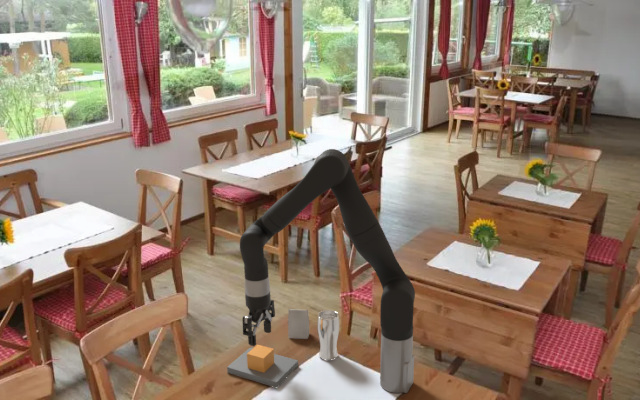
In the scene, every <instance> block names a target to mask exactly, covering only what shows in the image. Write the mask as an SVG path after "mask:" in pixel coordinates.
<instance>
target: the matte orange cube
mask: <svg viewBox="0 0 640 400" xmlns="http://www.w3.org/2000/svg"><path fill="white" fill-rule="evenodd" d="M252 348H253V349H252V350H251V351H249V352H248V353H247V365H248V368H250V369H253V370H257V371H260V372H263V373H264V372H265V371H266V370H267V369H269V368H270V367H271V366H272V365H273V364H274V354H275V349H274V348H271V347H269V346H265V345H261V344H256V345H255V346H253V347H252Z"/></svg>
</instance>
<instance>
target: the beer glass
mask: <svg viewBox="0 0 640 400" xmlns="http://www.w3.org/2000/svg"><path fill="white" fill-rule="evenodd" d="M316 325H317V326H316V327H317V335H318V340H319V345H320V348H319V354H318V355H319V356H320V357H321V358H322V359H326V360H331V359H334V358H336V357H337V355H338V356H339V354H338V349H337V344H338V343H337V342H338V338H339V333H340V332H339V331H340V318H339V313H338V312H337V311H335V310H332V309H324V310H322V311H319V312H318V313H317V324H316ZM319 356H318V357H319ZM320 357H319V358H320ZM321 358H320V359H321ZM337 358H338V357H337ZM337 358H336V359H337ZM322 359H321V360H322Z"/></svg>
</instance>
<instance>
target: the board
mask: <svg viewBox="0 0 640 400" xmlns="http://www.w3.org/2000/svg"><path fill="white" fill-rule="evenodd" d="M253 348H254V347H253V346H251V347H249V348H248V349H246V350H245V351H244V352H243V353H241V355H240V356H238V357H237V358H235V360H234V361H232V362H231V363H230V364H229V365H228V366H227V367H226V369H227V374H230V375H233V376H237V377H240V378H243V379H246V380H250V381H254V382H256V383H259V384H263V385H267V386H269V387H272V386H273V387H272V388H275V387H277V388H279V386H281V384H282V383H283V382H285V380H287V378H288V377H289V376H290V375H292V373H293V372H294V371H295V370H296V369H297V368H298V367H299V360H298V359H294V358H290V357H287V356H284V355H280V354H276V353H274V364H273V365H272V366H271V367H270V368H269V369H267V370H266V371H265V372H264V373H263V372H260V371H257V370H253V369H250V368H248V365H247V353H248V352H249V351H251V350H252V349H253ZM286 377H287V378H286Z"/></svg>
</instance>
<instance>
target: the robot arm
mask: <svg viewBox="0 0 640 400" xmlns="http://www.w3.org/2000/svg"><path fill="white" fill-rule="evenodd" d="M328 190H331V192H332V194H333V195H334V196H335V198H336V199H335V200H336V202H337V203H338V207H339V210H340V211H339V212H340V215H341V217H342V218H341V219H342V221H343V222H342V223H343V226H344V228H345V231H346V232H347V235H348V238H349V239H350V240H351V243H352V244H353V247H354V248H355V249H356V251H357V252H358V254H359V255H360V256H361V257H362V258H363V259H364V260H365V261H366V262H367V263H368V264H369V265H370V266H371V268H372V269H373V271H374V272H375V273H376V276H377V278H378V280H379V283H380V285H381V288H382V295H381V298H380V314H379V315H380V329H381V330H380V332H381V333H380V364H379V365H380V369H379V370H380V371H379V372H380V374H379V375H380V376H379V384H380V386H381V387H382V389H384V390H385V391H387V392H390V393H395V394H399V393H404V394H407V393H408V392H409V390H410V389H411V387H412V385H413V384H414V376H415V375H414V372H415V371H414V370H415V355H414V354H413V343H414V340H413V339H414V307H415V306H414V305H415V298H416V297H415V296H416V290H415V287H414V285H413V283H412V282H411V279H409V277H408V276H407V274H406V273H405V271H404V270H403V268H402V267H401V265H400V264H399V261H398V259H397V258H396V256H395V254H394V252H393V251H394V250H393V249H392V247H391V245H390V242H389V241H388V239H387V237H386V234H385V232H384V230H383V228H382V226H381V225H380V222H379V220H378V219H377V216H376V215H375V213H374V212H373V210H372V209H373V208H371V206H370V204H369V202H368V201H367V200H366V198H365V196H364V194H363V193H362V191H361V189H360V187H359V185H358V182H357V180H356V177H355V174H354V173H353V170H352V167H351V165H350V162H349V159H348V157H347V156H346V155H345V154H344V153H343V151H340V150H338V149H336V148H329V149H325V150H324V151H323V152H321V154H320V155H318V156H317V158H316V159H315V161H314V163H313V165H312V166H311V167H310V169H309V170H308V171H307V173H306V174H305V175H304V177H303V178H302V179H301V180H300V181H299V182H297V184H296V185H295V186H294V187H293V188H292V189H291V190H289V191H288V192H286V193H285V194H284V195H283V196H281V197H280V198H279V199H278V200H277V201H276V202H274V203H273V204H272V205H271V206H270V207H269V208H268V209H267V210H266V211H265V212H264V213H263V215H262V216H260V217H259V218H257V219H256V220H255V221H254V222H252V224H250V225H249V226H248V227H247V228H246V229H245V231H244V233H242V234H241V236H240V240H239V250H240V251H239V252H240V254H241V258H242V262H243V266H244V267H243V269H244V298H245V306H246V308H247V309H248V315H247V316H245V315H243V316H242V335H243V336H247V338H248V340H247V341H248V345H249V346H251V347H255V346H256V345H257V335H256V333H257V329H259V328H260V324H261V323H262V321H263V331H264V333H267V334H270V333H272V321H273V318H275V316H276V310H275V309H276V308H275V300H274V299H271V285H270V277H269V264H268V260H267V258H266V257H265V253H264V249H265V248H264V247H265V245H266V244H267V243H268V242H269V241H270V240H271V239H272V238H273V237H274V236H275V234H278V233H280V232H281V231H282V230H284V229H285V228H286V227H287V226H288V225H289V224H291V223H292V221H294V219H296V218H297V217H298V215H300V213H301V212H303V210H305V209H306V208H307V207H308V206H309V205H310V204H311V203H312V202H313V201H314V200H316V199H317V198H318V197H319V196H321V195H322V194H324V193H326V192H327V191H328ZM254 323H255V324H254Z"/></svg>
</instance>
